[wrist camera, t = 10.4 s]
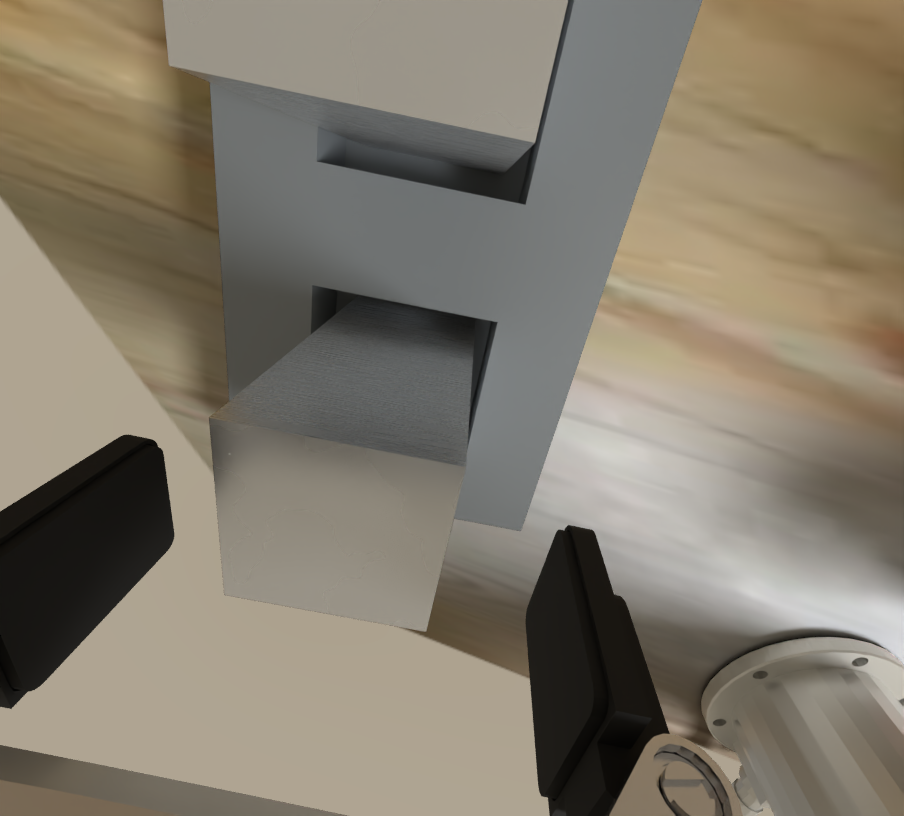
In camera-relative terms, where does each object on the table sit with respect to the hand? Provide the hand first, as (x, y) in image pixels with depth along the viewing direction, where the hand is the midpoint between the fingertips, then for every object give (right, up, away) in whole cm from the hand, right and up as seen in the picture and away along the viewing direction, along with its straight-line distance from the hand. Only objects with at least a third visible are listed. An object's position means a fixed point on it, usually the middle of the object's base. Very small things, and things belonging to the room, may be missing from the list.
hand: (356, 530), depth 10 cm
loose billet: (0, +5, +9) cm, 10 cm away
